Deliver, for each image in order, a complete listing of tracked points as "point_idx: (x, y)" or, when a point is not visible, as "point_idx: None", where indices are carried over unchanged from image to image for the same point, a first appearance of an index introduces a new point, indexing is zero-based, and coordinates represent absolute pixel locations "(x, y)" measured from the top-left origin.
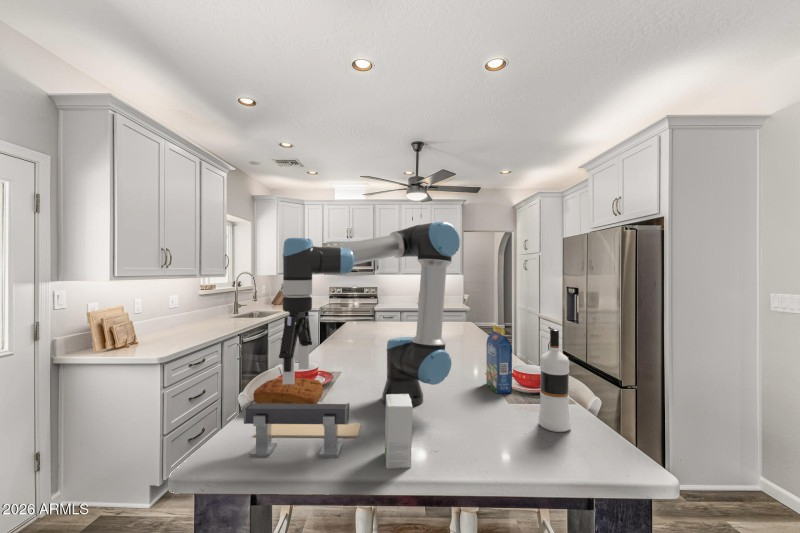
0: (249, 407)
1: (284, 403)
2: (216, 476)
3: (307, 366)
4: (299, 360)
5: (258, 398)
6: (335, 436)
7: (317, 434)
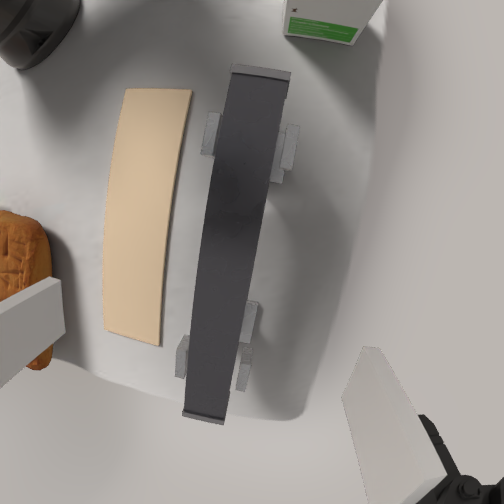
0: (216, 413)
1: None
2: (312, 376)
3: (51, 289)
4: (34, 352)
5: (47, 357)
6: None
7: (165, 195)
